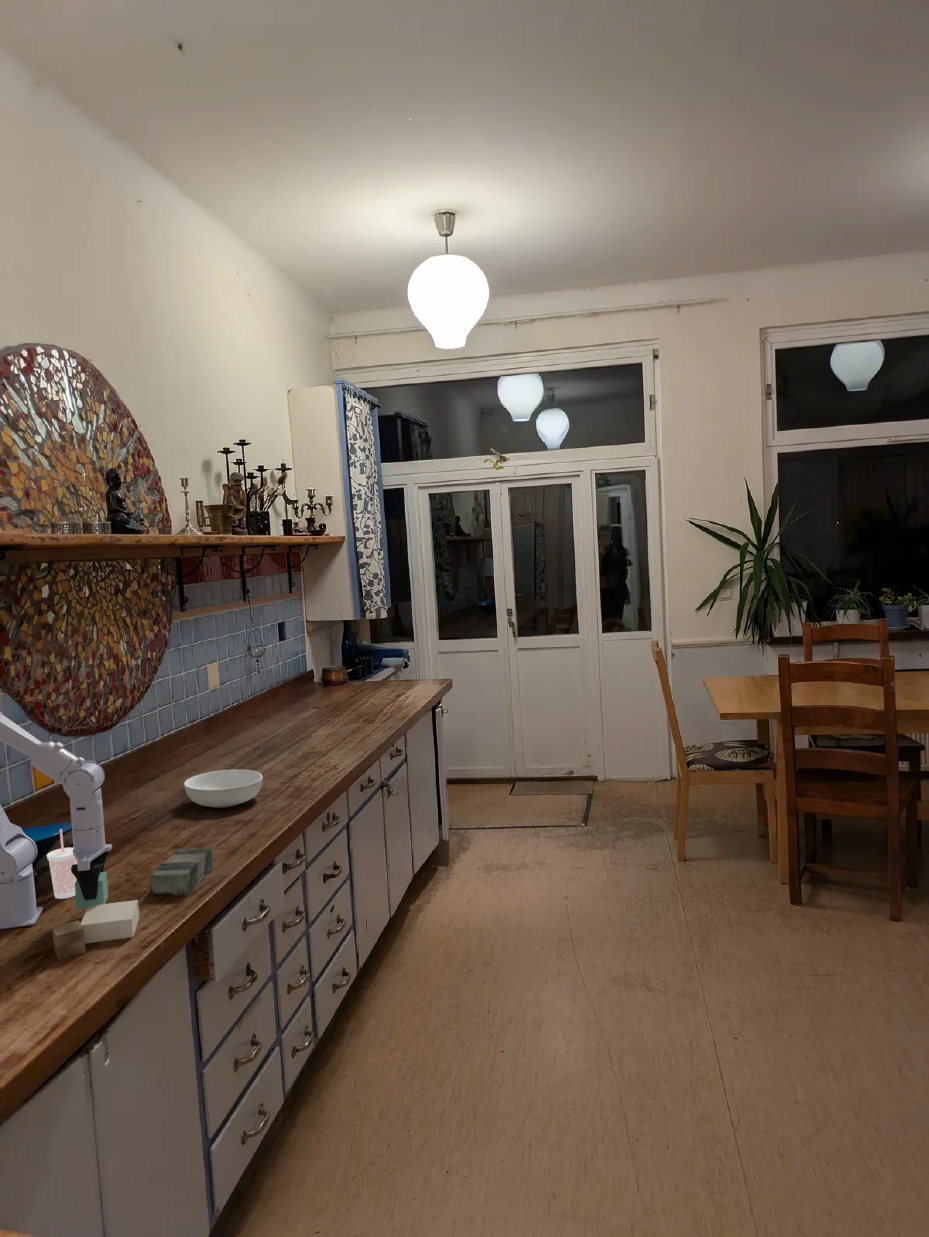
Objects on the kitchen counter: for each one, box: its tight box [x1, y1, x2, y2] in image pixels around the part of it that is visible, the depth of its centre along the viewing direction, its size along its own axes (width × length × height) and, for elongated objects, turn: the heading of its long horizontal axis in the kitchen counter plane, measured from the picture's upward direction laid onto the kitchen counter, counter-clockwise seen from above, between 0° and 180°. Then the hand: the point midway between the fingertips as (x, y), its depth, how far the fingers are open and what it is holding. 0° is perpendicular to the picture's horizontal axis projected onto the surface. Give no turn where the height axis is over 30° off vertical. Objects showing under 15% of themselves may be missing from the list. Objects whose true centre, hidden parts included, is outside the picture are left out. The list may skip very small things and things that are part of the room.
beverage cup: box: [46, 828, 77, 900], centre depth 189 cm, size 6×6×14 cm
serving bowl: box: [183, 769, 264, 809], centre depth 250 cm, size 21×21×7 cm
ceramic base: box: [80, 899, 140, 944], centre depth 171 cm, size 9×9×4 cm
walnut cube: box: [51, 920, 86, 961], centre depth 163 cm, size 4×4×4 cm
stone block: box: [149, 847, 214, 897], centre depth 194 cm, size 9×14×5 cm, turn 174°
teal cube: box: [75, 871, 109, 910], centre depth 178 cm, size 5×5×5 cm
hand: (93, 893), depth 178 cm, fingers closed on teal cube, 5 cm apart
